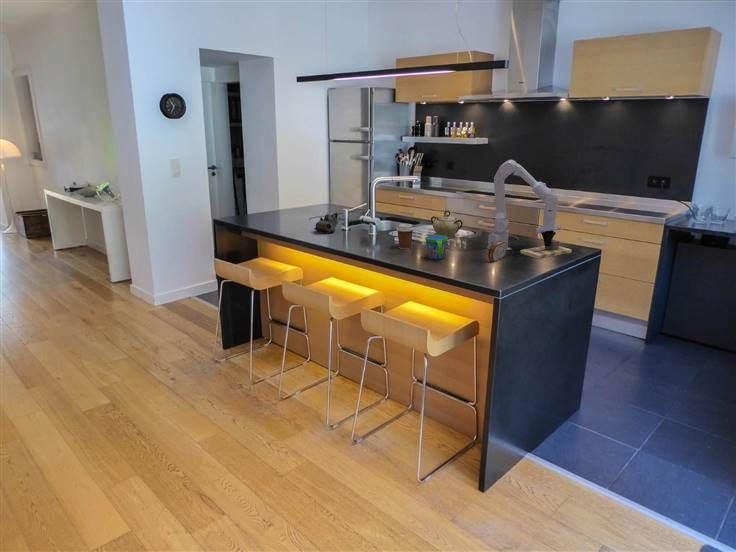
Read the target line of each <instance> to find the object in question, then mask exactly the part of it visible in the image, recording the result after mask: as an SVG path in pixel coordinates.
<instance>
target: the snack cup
mask: <svg viewBox="0 0 736 552" xmlns="http://www.w3.org/2000/svg"><path fill="white" fill-rule="evenodd" d="M424 239H425V242H426V249H427V255H428V258H429V259H431V260H442V259H444V258H445V254H446V249H447V242H448V241H449V238H448V237H447V236H443V235H437V234H431V235H430V234H429V235H426V237H425V238H424Z"/></svg>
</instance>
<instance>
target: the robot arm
mask: <svg viewBox="0 0 736 552" xmlns="http://www.w3.org/2000/svg"><path fill="white" fill-rule="evenodd" d="M510 175H513V176H518V177H520V178H521V179H523V181H525V182H526V183H527V184H528V185H530V186H531V187H532V189H531V190H532V192H533V193H534V194H535V195H536V196H537V197H538V198H539V199H540V200H542V201H543V203H544V209H543V218H542V226H541V227H539V228H535V233H536V234H541V236H542V240H543V246H547V247H548V246H550V243H551V241H552V239H553V240H554V237H555V235H556V233H557V232H556V231H561V230H562V226H561V225H556V221H557V220H556V218H557V207H558V206H557V204H558V199H559V197H558V195H557V194H556V193H555V192H554V190H551V189H549V187H547V185H546V184H547V183H545V182H542V181H537V180H536V179H535V178H534V176H532V175H531V174H530V173H529V172H528V171H527V170H526V169H525V168H524V167H523V166H522V165H521V164H519V163H517V161H516V160H514V159H507V160H506V161H505V162H503V163H502V164H500V166H499V168H498V170H497V171H496V173H495V175H494V177H493V184H494V185H493V189H494V202H495V203H494V204H495V220H494V221H495V222H494V225H493V228H494V230H493V232H491V233H490V234H489V235H488V240H487V247H486V249H487V250H489V248H490V246H491V245H492V244H493V243H495V242H498V241H504V242H506V244H507V247H506V251H510V250H512V248H511V247H509V234H510V233H509V232H510V231H509V229H508V228H509V226H510V221H509V219H508V214H507V209H506V208H507V207H506V189H505V187H506V186H505V180H506V179H507V178H508V176H510Z"/></svg>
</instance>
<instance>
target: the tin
mask: <svg viewBox="0 0 736 552" xmlns="http://www.w3.org/2000/svg"><path fill="white" fill-rule="evenodd" d="M506 247H507V244H506V242H504V241H498V242H495V243H493V244H492V245H491V246H490V248H489V249H488V253H487V259H488V261H490V262H491V261H492V262H497V261H499V260H501V259H503V258H504V257H505V256H506V253H507V250H506Z"/></svg>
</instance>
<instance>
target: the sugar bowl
mask: <svg viewBox="0 0 736 552" xmlns="http://www.w3.org/2000/svg"><path fill="white" fill-rule="evenodd" d="M447 212H448V214H446V213H447ZM433 219H434V220H433ZM430 223H431V224H432V229H433V231H434V232H435V235H443V236H447V237H448V239H451V238H454V236H455V235H456V234H457V233H458V232H459V230H460V229H462V227H463V225H464V223H463V221H462V220H461V219H457V218H456V217H453V216H451V212H450V210H448V209H447V210H445V211H444V213H443V215H442V216H439V217H437V216H435V215H434V216H431V218H430Z"/></svg>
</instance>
